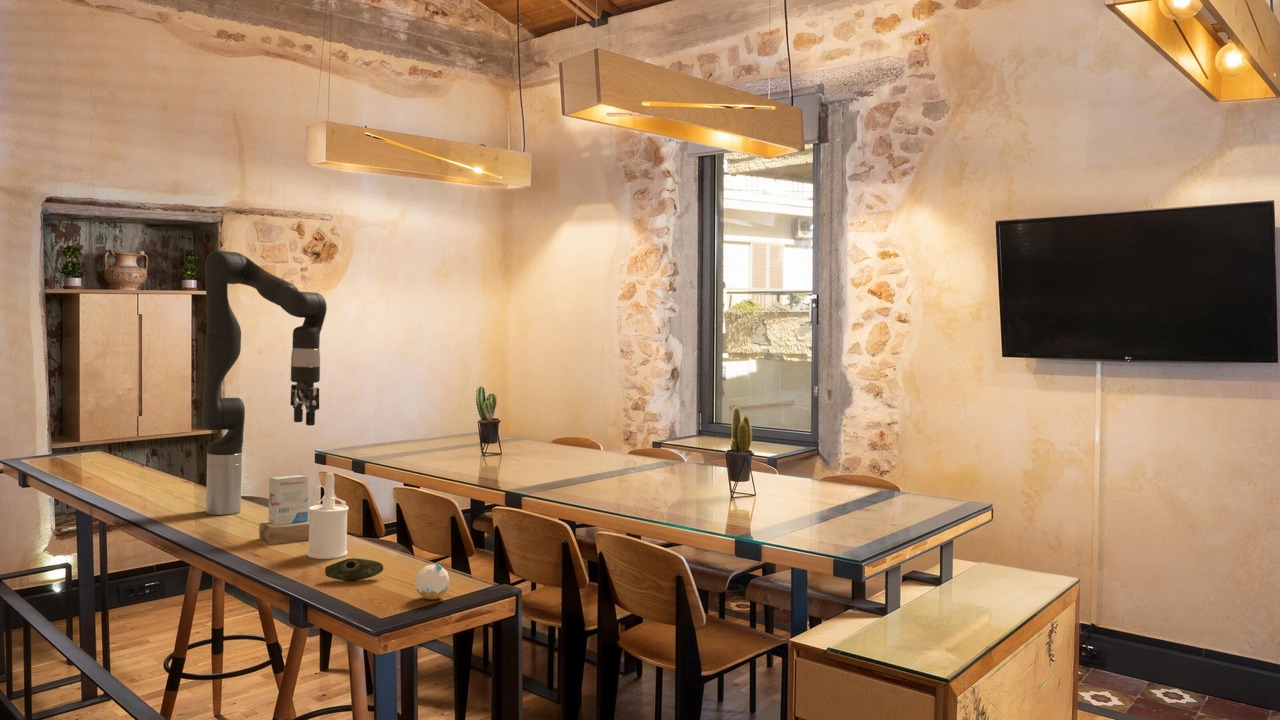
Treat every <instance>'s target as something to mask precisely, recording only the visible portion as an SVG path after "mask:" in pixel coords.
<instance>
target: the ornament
mask: <svg viewBox="0 0 1280 720" xmlns="http://www.w3.org/2000/svg"><path fill="white" fill-rule="evenodd" d="M439 563H440V564H442V563H443V562H442V561H439ZM439 563H434V564H429V565H426V566H423V567H422V568H421V570H419V572H417V573H416V576H415V587H416V592H417V593H418V594H419V595H420V596H421V597H422V598H424V599H426V600H433V601H434V600H437V599H440V598H441V597H443V596H444V595H445V594H446V593H447V591H448V590H449V585H450V583H451V582H450V579H449V572H448V570H446V569H445V568H444V567H443V566H442V565H440V564H439Z"/></svg>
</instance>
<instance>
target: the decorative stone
mask: <svg viewBox="0 0 1280 720" xmlns="http://www.w3.org/2000/svg"><path fill="white" fill-rule="evenodd" d="M324 568H325V569H324V574H325V576H326V577H328V578H331V579H334V580H339V581H344V582H348V583H351V582H358V581H362V580H365V579H369V578H372V577H375V576H378V575H380V573H382V572H383V571H384V565H383V563H382V562H379V561H377V560H370V559H366V558H365V559H364V558H346V559H343V560H340V561H337V562H335V563H331V564H329V565H326V566H325V567H324Z"/></svg>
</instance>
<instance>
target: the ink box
mask: <svg viewBox="0 0 1280 720" xmlns="http://www.w3.org/2000/svg"><path fill="white" fill-rule="evenodd" d="M308 508H309V476H306V475H301V474H297V475H287V476H286V475H285V476H284V475H283V476H275V477H274V476H273V477H269V479H268V521H269V522H270V523H272V524H275V525H282V524H290V523H298V522H306V521H308V519H309V515H308V514H309V511H308Z"/></svg>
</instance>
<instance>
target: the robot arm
mask: <svg viewBox="0 0 1280 720" xmlns="http://www.w3.org/2000/svg"><path fill="white" fill-rule="evenodd" d="M204 279H205V281H204V282H205V293H206V329H205V330H206V331H205V375H204V386H203V388H204V389H203V396H202V407H201V408H202V409H201V420H202V421H201V422H202V425H203V427H204V429H205V430H207V431H222V430H223V431H225V430H226V433H225V434H224V435H223V436H222V437H220V438H218V439H216V440H213V441H211V442H209V443H208V444H207V447H206V449H207V451H206V452H207V453H206V497H205V498H206V499H205V500H206V501H205V513H206V514H208V515H213V516H214V515H215V516H216V515H217V516H223V515H224V516H225V515H232V514H233V515H234V514H238V513H241V508H242V473H243V471H242V469H243V468H242V467H243V466H242V465H243V464H242V463H243V462H242V461H243V457H242V456H243V446H244V445H243V444H244V429H245V418H246V417H245V416H246V411H245V409H246V408H245V403H244V401H243V399H241V398H240V397H219V395H220V389H221V386H222V383H223V381H224V379H225V378H226V375H227V374H229V372H230V371H231V369H232V368H233V366H234V365H235V363H236V361H237V360H238V359H239V357H240V354H241V350H242V349H241V348H242V330H241V325H240V324H239V321H238V319H237V317H236V315H235V313H234V311H233V310H232V308H231V306H230V302H229V297H228V296H229V295H228V285H237V284H238V285H239V284H240V285H244V286H248V287H252V289H255V290H256V291H257V294H259V295H260V296H261V297H262V298H263V299H264V300H266V301H268V302H271V303H272V304H275V305H277V306H279V307H280V308H281V309H282V310H284V312H286V313H287V314H288V315H290V316H292V317H295V318H302V319H304V321H303V323H302V325H301V326H300V325H299V326H296V327H294V329H293V330H292V349H291V355H290V356H291V357H290V382H292V383H294V384H291V386H290V406H292V408H293V422H294V423H302V422H303V420H304V419H303V417H304V414H303V413H304V409H303V408H304V407H305V411H306V412H305V425H306V426H314V425H315V423H316V412H317V411H318V410H320V388H319V387H315V385H314V384H315V383H320V380H321V376H320V375H321V354H320V344H321V343H320V342H321V340H320V339H321V337H320V335H321V333H322V332H321V331H322V329H323V325H324V321H325V317H326V314H327V302H326V300H325V297H324V296H323V295H322V293H321V294H320V293H318V292H312V291H311V292H307V291H300V290H299V288H298V287H297V286H296V285H294V284H293V283H291V282H289V281H287V280H285V279H283V278H280V277H279V276H276V275H274V274H272V273H270V272H268V271H266V270H265V269H263V268H262V267H260V266H259V265H258V264H256V263H255V262H254V261H253V260H251V259H250V258H248V257H247V256H245V255H244V254H243V253H240V252H238V251H237V252H236V251H235V252H234V251H226V250H225V251H224V250H212V251H211V252H210V253H209V254H208V255H207V257H206V259H205V264H204Z"/></svg>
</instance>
